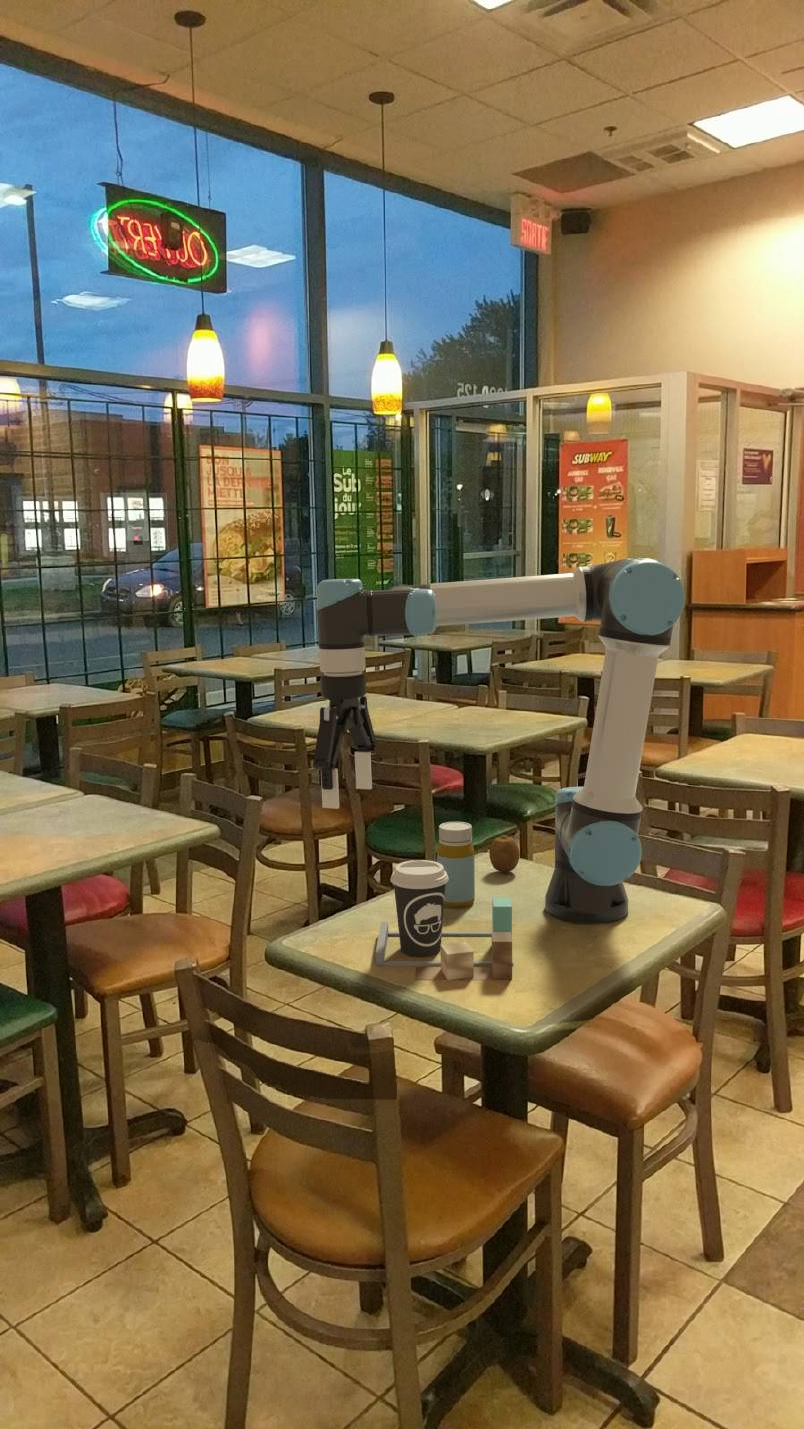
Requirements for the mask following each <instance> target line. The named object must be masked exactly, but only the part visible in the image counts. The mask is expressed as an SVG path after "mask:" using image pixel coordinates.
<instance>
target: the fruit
mask: <svg viewBox="0 0 804 1429" xmlns="http://www.w3.org/2000/svg"><path fill="white" fill-rule="evenodd" d="M488 853H489V854H488V856H489V860H490V863H491V865H492V867H493V868H494V869H495V871H498V872H500V873H501V874H507V873H510V872H511V871H513V870H515V868H517V866H518V864H519V861H520V853H521V852H520V848H519V844H518V843H517V841H516V840H515V838H513V837H511V836H507V835H506V834H503V835H501V836H499V837H495V838H494V839H493V840H492V842H491V844H490V846H489V852H488Z"/></svg>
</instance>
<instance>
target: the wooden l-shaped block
mask: <svg viewBox="0 0 804 1429" xmlns="http://www.w3.org/2000/svg"><path fill="white" fill-rule="evenodd" d="M491 932H492V931H491ZM512 958H513V936H512V937H511V932H492V936H491V961H492V966H474V977H471V978H462V979H453V980H452V981H513V966H512ZM415 967H416V968H415V975H414V976H415V978H414V981H448V980H447V978H446V977H445V975H444V974H443V972H442V971H441V966H415Z"/></svg>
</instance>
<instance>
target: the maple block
mask: <svg viewBox="0 0 804 1429" xmlns="http://www.w3.org/2000/svg"><path fill="white" fill-rule="evenodd" d="M440 945H441V950H440V961H441V966H440V967H441V971H442V972H443V974H444V975H445V977H446V978H447V980H446V981H454V980H453V979H462V978H471V977H474V967H475V966H474V961H475V959H474V950H473V948H472V947H471V946H470V945H469V943H468V942H467V941H460V942H449V943H448V942H447V943H441V944H440Z"/></svg>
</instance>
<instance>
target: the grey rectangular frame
mask: <svg viewBox="0 0 804 1429" xmlns="http://www.w3.org/2000/svg"><path fill="white" fill-rule="evenodd" d="M491 899H492V901H491V903H492V906H491V907H492V911H491V912H492V913H491V914H492V919H491V920H492V923H491V924H492V931H442V937H492V932H511V937H512V938H513V905H512V898H511V897H505V896H504V897H500V896H499V897H496V896H495V897H491ZM389 937H399V931H389V921H381V922H380V926H379V933H378V937H377V942H376V947H375V948H376V949H375V966H377V967H441V960H439V961H437V960H435V961H434V960H432V961H431V960H430V961H429V960H426V961H425V960H423V961H422V960H421V961H420V960H419V961H418V960H417V961H416V960H414V961H413V960H405V961H404V960H402V961H401V960H400V961H398V960H392V961H391V960H385V957H386V953H387V952H386V951H387V945H388V940H389ZM474 967H492V960H490V961H487V960H486V961H484V960H482V961H480V960H479V961H478V960H474ZM512 967H514V958H513V957H512Z"/></svg>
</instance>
